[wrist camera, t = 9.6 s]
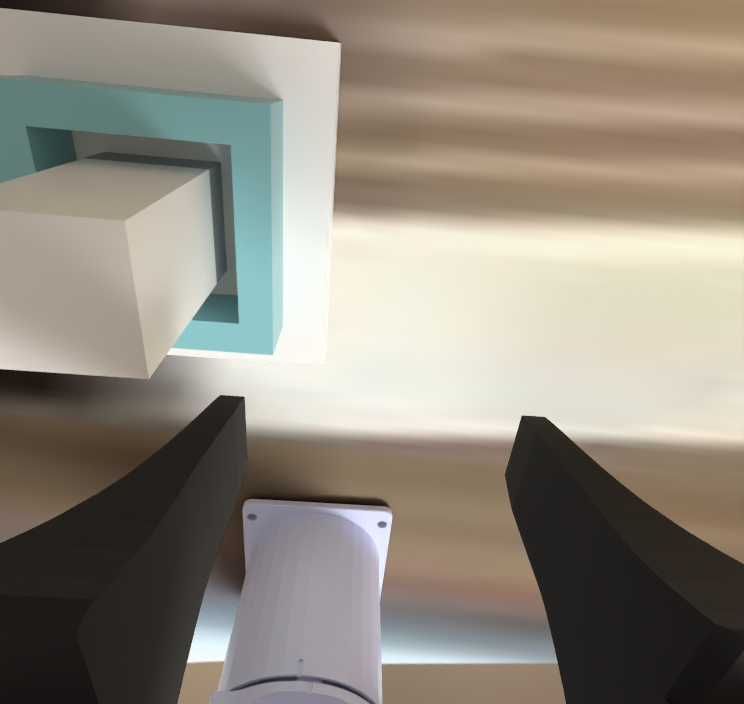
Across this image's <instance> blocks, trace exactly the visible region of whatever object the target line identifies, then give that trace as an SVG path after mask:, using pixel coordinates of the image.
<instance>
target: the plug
mask: <svg viewBox="0 0 744 704" xmlns="http://www.w3.org/2000/svg"><path fill="white" fill-rule="evenodd" d="M226 270H227V263H226V245H225V227H224V209H223V192H222V174H221V162H214V161H202V160H191V159H180V158H169V157H158V156H147V155H136V154H125V153H113V152H102V153H99V154H96V155H92V156H89V157H86V158H83V159H79V160H76V161H73V162H69V163H66V164H63V165H59V166H56V167H53V168H50V169H46V170H43V171H40V172H36V173H33V174H30V175H26V176H23V177H20V178H16V179H13V180H10V181H7V182H3V183H0V369H8V370H23V371H37V372H52V373H66V374H81V375H96V376H110V377H125V378H139V379H149V378H150V377H151V376H152V374H153V373H154V371H155V370H156V369H157V367H158V366H159V364H160V363H161V362H162V360H163V359H164V357H165V356H166V355H167V353H168V352H169V350H170V349H171V348H172V346H173V345H174V343H175V342H176V341H177V339H178V338H179V336H180V335H181V334H182V332H183V331H184V329H185V328H186V327H187V325H188V324H189V322H190V321H191V320H192V318H193V317H194V315H195V314H196V313H197V311H198V310H199V308H200V307H201V305H202V304H203V303H204V301H205V300H206V298H207V297H208V296H209V294H210V293H211V291H212V290H213V289H214V287H215V286H216V284H217V283H218V282H219V280H220V279H221V277H222V276H223V275H224V273H225V272H226Z"/></svg>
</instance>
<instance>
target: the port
mask: <svg viewBox="0 0 744 704" xmlns="http://www.w3.org/2000/svg"><path fill="white" fill-rule="evenodd" d="M340 62H341V43H337V42H328V41H318V40H308V39H298V38H289V37H279V36H269V35H259V34H250V33H240V32H230V31H220V30H211V29H201V28H191V27H181V26H172V25H162V24H152V23H142V22H133V21H123V20H113V19H103V18H94V17H84V16H74V15H64V14H55V13H45V12H35V11H25V10H16V9H6V8H0V183H3V182H7V181H10V180H13V179H16V178H20V177H23V176H26V175H30V174H33V173H36V172H40V171H43V170H46V169H50V168H53V167H56V166H59V165H63V164H66V163H69V162H73V161H76V160H79V159H83V158H86V157H89V156H92V155H96V154H99V153H102V152H113V153H125V154H136V155H147V156H158V157H169V158H180V159H191V160H202V161H214V162H221V174H222V192H223V209H224V227H225V245H226V263H227V270H226V272H225V273H224V275H223V276H222V277H221V279H220V280H219V282H218V283H217V284H216V286H215V287H214V289H213V290H212V291H211V293H210V294H209V296H208V297H207V298H206V300H205V301H204V303H203V304H202V305H201V307H200V308H199V310H198V311H197V313H196V314H195V315H194V317H193V318H192V320H191V321H190V322H189V324H188V325H187V327H186V328H185V329H184V331H183V332H182V334H181V335H180V336H179V338H178V339H177V341H176V342H175V343H174V345H173V346H172V348H171V349H170V350H169V352H168V353H167V355H181V356H195V357H209V358H223V359H237V360H251V361H265V362H279V363H293V364H308V365H322V366H325V359H326V348H327V327H328V307H329V287H330V266H331V246H332V226H333V205H334V185H335V164H336V144H337V124H338V103H339V83H340Z"/></svg>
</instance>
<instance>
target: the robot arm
mask: <svg viewBox="0 0 744 704" xmlns="http://www.w3.org/2000/svg"><path fill="white" fill-rule="evenodd" d="M246 462H247V442H246V420H245V397H239V396H225V395H220V396H219V397H218V398H216V399H215V400H214V401H213V402H212V403H211V404H210V405H209V406H208V407H207V408H206V409H205V410H204V411H203V412H201V413H200V414H199V415H198V416H197V417H196V418H195V419H194V420H193V421H192V422H191V423H190V424H189V425H187V426H186V427H185V428H184V429H183V430H182V431H181V432H180V433H178V434H177V435H176V436H175V437H174V438H173V439H172V440H170V441H169V442H168V443H167V444H166V445H165V446H163V447H162V448H161V449H160V450H158V451H157V452H156V453H155V454H153V455H152V456H151V457H150V458H148V459H147V460H146V461H144V462H143V463H142V464H141V465H139V466H138V467H137V468H135V469H134V470H133V471H131V472H130V473H128V474H127V475H125V476H124V477H122V478H121V479H119V480H118V481H116V482H115V483H113V484H112V485H110V486H109V487H107V488H106V489H104V490H102V491H101V492H99V493H98V494H96V495H94V496H92V497H91V498H89V499H87V500H85V501H83V502H82V503H80V504H78V505H76V506H75V507H73V508H71V509H69V510H68V511H66V512H64V513H62V514H60V515H59V516H57V517H55V518H53V519H51V520H49V521H47V522H45V523H43V524H41V525H39V526H37V527H35V528H32V529H30V530H28V531H26V532H24V533H22V534H20V535H17V536H15V537H13V538H11V539H9V540H6V541H4V542H2V543H0V704H177V702H178V698H179V694H180V689H181V685H182V680H183V676H184V672H185V668H186V663H187V659H188V655H189V651H190V647H191V643H192V639H193V635H194V631H195V627H196V623H197V619H198V615H199V611H200V607H201V603H202V599H203V596H204V592H205V588H206V585H207V582H208V579H209V576H210V573H211V570H212V567H213V564H214V562H215V559H216V556H217V554H218V551H219V548H220V545H221V543H222V540H223V537H224V535H225V532H226V529H227V526H228V524H229V521H230V518H231V515H232V513H233V510H234V507H235V504H236V502H237V499H238V496H239V493H240V489H241V484H242V480H243V476H244V471H245V467H246ZM505 477H506V483H507V488H508V493H509V498H510V503H511V507H512V511H513V514H514V517H515V520H516V523H517V526H518V529H519V532H520V535H521V538H522V541H523V543H524V546H525V549H526V552H527V555H528V558H529V560H530V563H531V566H532V569H533V572H534V575H535V578H536V580H537V583H538V586H539V589H540V592H541V596H542V599H543V602H544V605H545V609H546V613H547V618H548V622H549V626H550V630H551V634H552V639H553V643H554V647H555V652H556V656H557V661H558V666H559V670H560V675H561V680H562V684H563V689H564V694H565V700H566V704H744V564H742V563H741V562H739V561H737V560H735V559H733V558H732V557H730V556H728V555H726V554H724V553H723V552H721V551H719V550H718V549H716V548H714V547H713V546H711V545H709V544H708V543H706V542H704V541H702V540H701V539H699V538H697V537H696V536H694V535H693V534H691V533H689V532H688V531H686V530H685V529H683V528H682V527H680V526H678V525H677V524H675V523H674V522H673V521H671V520H670V519H668V518H667V517H665V516H664V515H662V514H661V513H660V512H658V511H657V510H655V509H654V508H652V507H651V506H650V505H648V504H647V503H645V502H644V501H643V500H641V499H640V498H639V497H637V496H636V495H635V494H634V493H632V492H631V491H630V490H629V489H627V488H626V487H625V486H624V485H622V484H621V483H620V482H619V481H617V480H616V479H615V478H614V477H613V476H611V475H610V474H609V473H608V472H607V471H605V470H604V469H603V468H602V467H601V466H600V465H598V464H597V463H596V462H595V461H594V460H593V459H592V458H590V457H589V456H588V455H587V454H586V453H585V452H584V451H583V450H582V449H580V448H579V447H578V446H577V445H576V444H575V443H574V442H573V441H572V440H571V439H569V438H568V437H567V436H566V435H565V434H564V433H563V432H562V431H561V430H559V429H558V428H557V427H556V426H555V425H554V424H553V423H551V422H550V421H549V420H548V419H547V418H545V417H536V416H522V417H521V421H520V424H519V428H518V431H517V435H516V438H515V442H514V445H513V449H512V452H511V455H510V459H509V462H508V466H507V469H506V473H505ZM242 512H243V530H244V549H245V568H246V576H245V580H244V584H243V588H242V592H241V597H240V601H239V605H238V609H237V613H236V617H235V621H234V625H233V630H232V634H231V638H230V642H229V646H228V650H227V654H226V658H225V662H224V667H223V671H222V675H221V679H220V683H219V687H218V691H214V692H212V694H211V698H210V702H209V704H382V679H381V678H382V675H381V629H380V596H381V590H382V583H383V576H384V570H385V563H386V556H387V550H388V543H389V536H390V530H391V523H392V511H391V509H390V508H388V507H384V506H368V505H351V504H333V503H316V502H299V501H281V500H264V499H248V500H246V501H245V502H244V505H243V509H242ZM251 514H255V515H251ZM380 521H384V522H380Z"/></svg>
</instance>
